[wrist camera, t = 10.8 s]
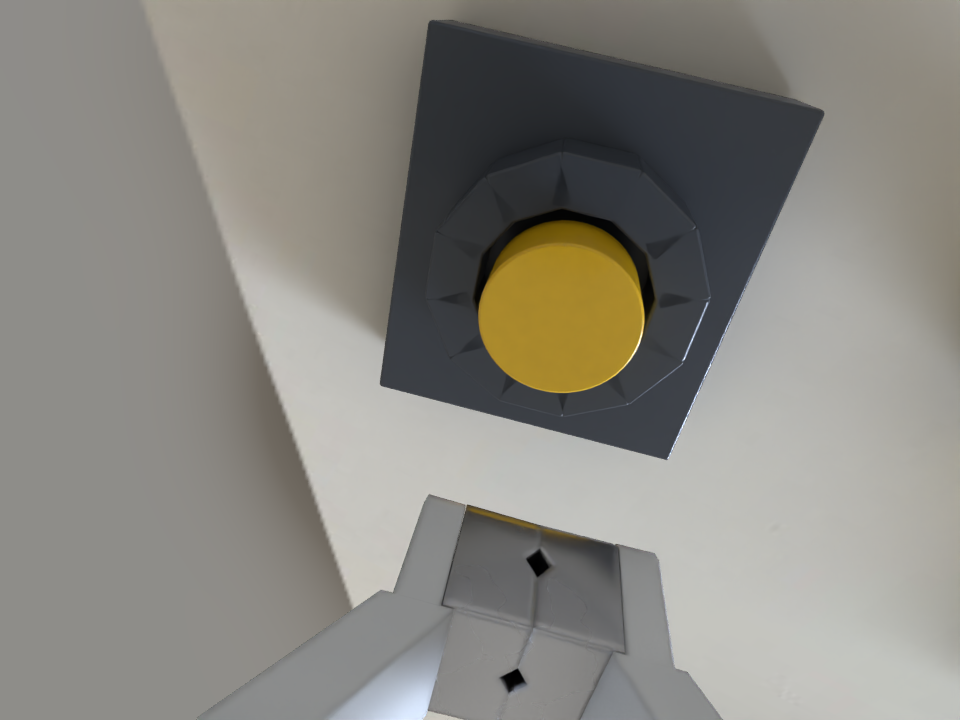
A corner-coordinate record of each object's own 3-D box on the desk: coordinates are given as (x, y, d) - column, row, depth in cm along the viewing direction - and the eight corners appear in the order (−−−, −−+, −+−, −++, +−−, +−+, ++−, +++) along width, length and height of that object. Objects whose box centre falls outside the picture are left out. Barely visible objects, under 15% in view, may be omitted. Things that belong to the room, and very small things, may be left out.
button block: (448, 18, 16) (407, 19, 12) (798, 99, 15) (857, 123, 12) (398, 352, 21) (359, 419, 17) (661, 420, 20) (675, 502, 17)
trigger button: (506, 202, 14) (496, 224, 13) (661, 240, 14) (669, 267, 12) (476, 338, 16) (464, 372, 14) (613, 372, 16) (615, 410, 14)
